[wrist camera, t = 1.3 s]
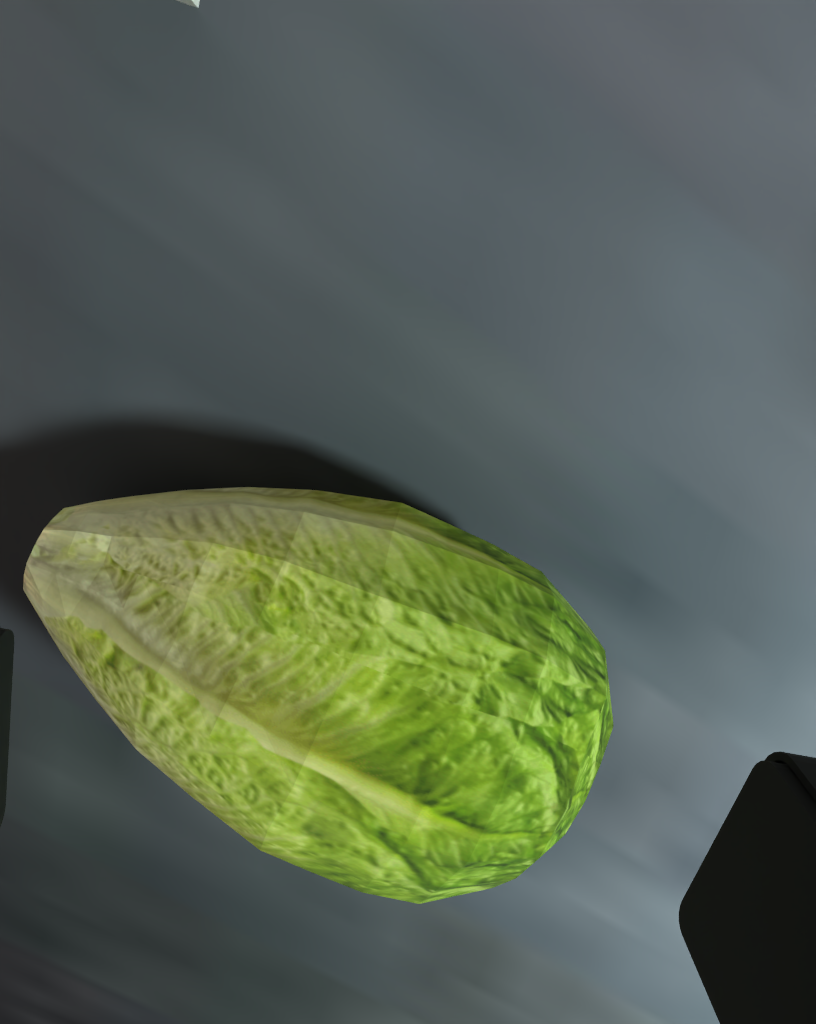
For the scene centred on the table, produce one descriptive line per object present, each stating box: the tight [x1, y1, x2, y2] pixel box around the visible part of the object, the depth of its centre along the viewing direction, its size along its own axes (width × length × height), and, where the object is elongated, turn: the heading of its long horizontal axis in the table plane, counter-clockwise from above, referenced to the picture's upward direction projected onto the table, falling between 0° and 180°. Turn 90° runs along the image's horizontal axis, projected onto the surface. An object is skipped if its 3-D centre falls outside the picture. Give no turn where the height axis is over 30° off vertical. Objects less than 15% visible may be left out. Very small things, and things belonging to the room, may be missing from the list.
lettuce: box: [23, 487, 613, 904], centre depth 28 cm, size 13×22×14 cm
